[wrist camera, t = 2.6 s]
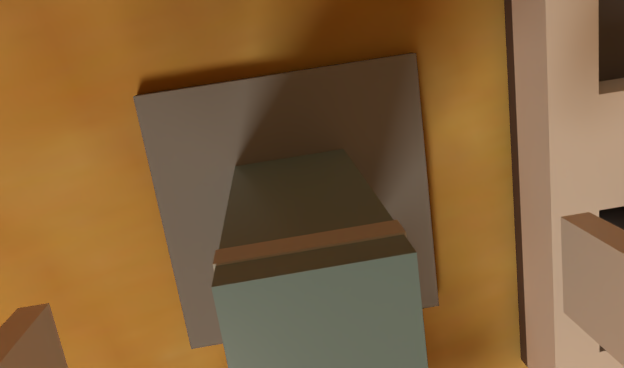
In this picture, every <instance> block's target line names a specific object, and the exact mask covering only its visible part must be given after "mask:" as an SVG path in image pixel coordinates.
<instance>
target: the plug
mask: <svg viewBox="0 0 624 368" xmlns="http://www.w3.org/2000/svg"><path fill="white" fill-rule="evenodd" d="M213 269H214V276H213V281H212V286H211V288H212V293H213V298H214V302H215V307H216V312H217V317H218V321H219V326H220V331H221V335H222V340H223V345H224V350H225V354H226V359H227V364H228V368H428V362H427V351H426V341H425V331H424V321H423V311H422V301H421V291H420V281H419V271H418V261H417V252H416V251H415V249H414V248H413V246H412V245H411V244H410V242H409V241H408V239H407V236H406V231H405V230H404V228H403V227H402V226H401V224H400V223H399V221H398V220H393V218H392V217H391V215H390V214H389V213H388V211H387V210H386V208H385V207H384V205H383V204H382V203H381V201H380V200H379V198H378V197H377V196H376V194H375V193H374V191H373V190H372V188H371V187H370V186H369V184H368V183H367V181H366V180H365V179H364V177H363V176H362V174H361V173H360V172H359V170H358V169H357V167H356V166H355V164H354V163H353V162H352V160H351V159H350V157H349V156H348V155H347V153H346V152H345V150H344V149H340V150H333V151H327V152H321V153H315V154H308V155H302V156H296V157H290V158H283V159H277V160H271V161H265V162H258V163H252V164H246V165H240V166H235V169H234V174H233V179H232V184H231V189H230V194H229V199H228V205H227V210H226V215H225V220H224V225H223V230H222V235H221V240H220V245H219V249H218V250H215V255H214V260H213Z"/></svg>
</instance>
